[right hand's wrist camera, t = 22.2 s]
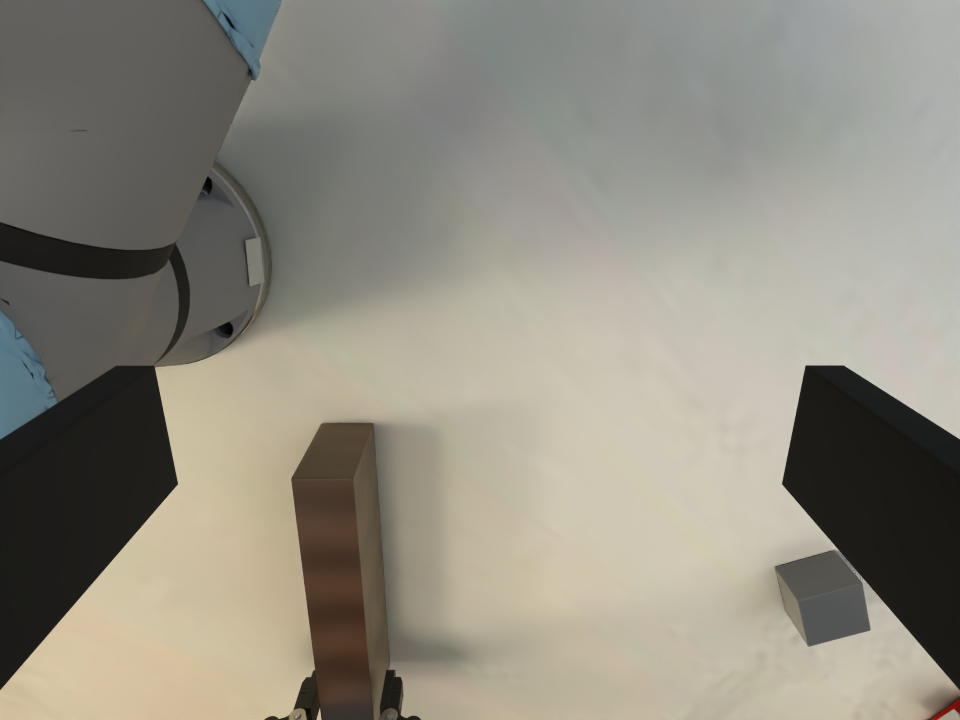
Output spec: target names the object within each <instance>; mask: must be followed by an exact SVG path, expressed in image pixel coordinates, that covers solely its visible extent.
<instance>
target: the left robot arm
mask: <svg viewBox="0 0 960 720" xmlns="http://www.w3.org/2000/svg"><path fill="white" fill-rule="evenodd" d="M402 701H403V683H402V679H401V677H396V672H395V670H386V674H385V679H384V685H383V691H382V697H381V702H380V717H379V719H378V720H420V718H419V717H417V716H410V717H408V718H405V717H403V716H401V709H402ZM319 708H320V703H319V695H318V687H317V679H316V671H315V670H314V671H313V673H312V676H311V677H306V679H305V680H304V681H303V682H302V685H301V688H300V691H299V694H298V698H297V701H296V704H295V707H294V710H293V711H292V712H291V713H290V715H289V716H287V717H285V718H281V719H278V718H277V717H275V716H270V717H268V718H266V719H265V720H316V719H317V716H318V712H319Z"/></svg>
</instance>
